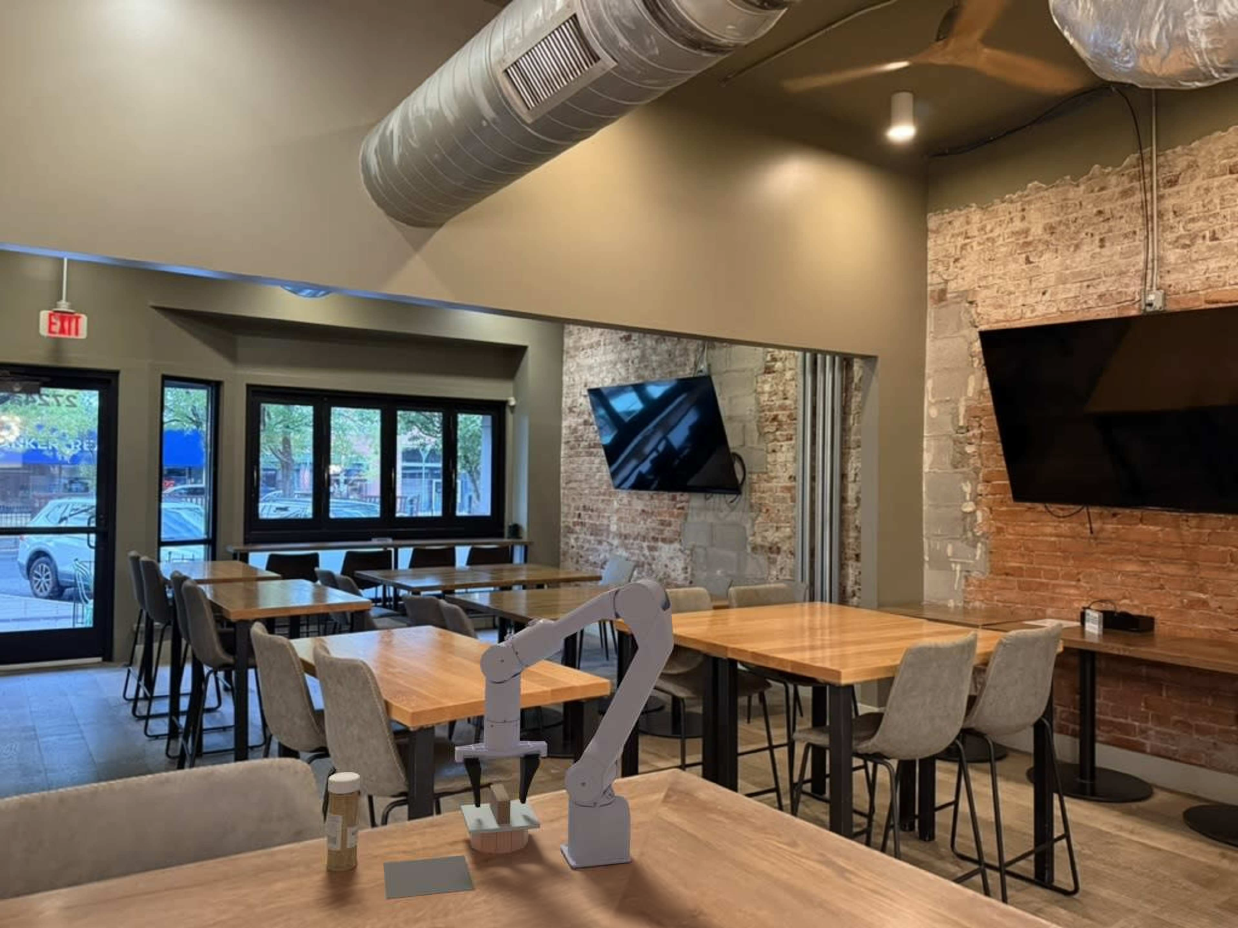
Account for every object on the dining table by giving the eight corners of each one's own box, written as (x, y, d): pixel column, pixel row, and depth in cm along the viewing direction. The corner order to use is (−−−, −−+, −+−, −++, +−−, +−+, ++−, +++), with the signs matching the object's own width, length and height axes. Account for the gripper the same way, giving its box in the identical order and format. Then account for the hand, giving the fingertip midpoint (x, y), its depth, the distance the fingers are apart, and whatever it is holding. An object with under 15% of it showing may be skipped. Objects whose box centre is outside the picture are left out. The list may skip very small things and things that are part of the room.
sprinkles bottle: (361, 869, 131) (364, 777, 131) (330, 876, 128) (333, 782, 129) (352, 858, 135) (354, 769, 135) (321, 864, 132) (324, 773, 132)
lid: (526, 803, 148) (527, 779, 148) (540, 827, 138) (540, 801, 138) (460, 809, 145) (461, 783, 145) (469, 834, 135) (470, 807, 135)
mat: (464, 857, 136) (464, 854, 136) (474, 891, 124) (474, 889, 124) (383, 865, 132) (383, 862, 132) (386, 901, 121) (386, 898, 121)
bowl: (521, 830, 147) (522, 806, 147) (532, 852, 138) (532, 826, 138) (467, 835, 144) (467, 811, 144) (474, 857, 136) (475, 831, 136)
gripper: (541, 709, 148) (539, 791, 147) (453, 714, 144) (451, 798, 143) (550, 720, 141) (548, 806, 141) (458, 725, 137) (456, 813, 136)
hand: (500, 803), depth 141 cm, fingers open, 7 cm apart
